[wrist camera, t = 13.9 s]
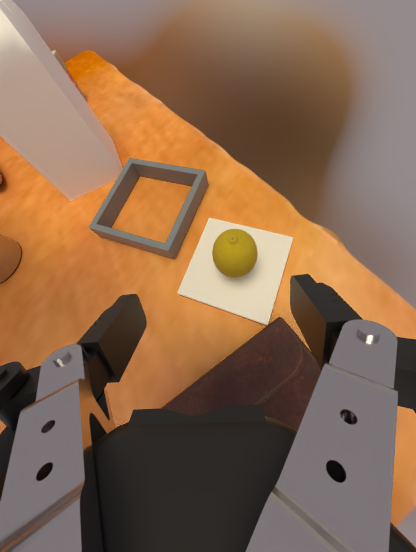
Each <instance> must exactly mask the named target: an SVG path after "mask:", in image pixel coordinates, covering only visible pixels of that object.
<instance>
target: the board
mask: <svg viewBox="0 0 416 552" xmlns="http://www.w3.org/2000/svg"><path fill="white" fill-rule="evenodd" d="M230 229H240V230H243V231H246V232H247V233H248V234H250V235H251V237H252V238H253V239H254V241H255V243H256V246H257V253H258V256H257V261H256V264H255V265H254V267H253V269H252V270H251V271H250V272H249V273H247V274H246V275H244V276H242V277H236V278H233V277H228V276H226V275H224V274H222V273H221V272H220V271H219V270H218V269H217V268H216V266H215V264H214V261H213V256H212V250H213V245H214V243H215V240H216V239H217V237H218V236H219V235H220V234H221V233H223V232H224V231H226V230H230ZM292 241H293V237H290V236H286V235H282V234H277V233H273V232H269V231H264V230H260V229H256V228H251V227H247V226H243V225H238V224H234V223H230V222H226V221H221V220H217V219H213V218H209V219H208V222H207V224H206V227H205V229H204V231H203V234H202V236H201V238H200V241H199V243H198V245H197V248H196V250H195V252H194V255H193V257H192V260H191V262H190V264H189V267H188V269H187V271H186V274H185V276H184V278H183V281H182V283H181V285H180V288H179V290H178V294H179V295H181V296H184V297H187V298H190V299H193V300H196V301H198V302H201V303H204V304H207V305H210V306H212V307H215V308H218V309H221V310H224V311H227V312H229V313H232V314H235V315H238V316H241V317H243V318H246V319H249V320H252V321H255V322H258V323H260V324H263V325H266V326H267V325H268V323H269V319H270V316H271V312H272V309H273V305H274V302H275V299H276V295H277V292H278V288H279V285H280V282H281V278H282V275H283V271H284V268H285V264H286V261H287V258H288V254H289V251H290V247H291V244H292Z"/></svg>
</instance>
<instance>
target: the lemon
mask: <svg viewBox="0 0 416 552" xmlns="http://www.w3.org/2000/svg"><path fill="white" fill-rule="evenodd" d="M212 256H213V261H214V264H215V266H216V268H217V269H218V270H219V271H220V272H221V273H222V274H224V275H226V276H228V277H233V278H236V277H242V276H244V275H246V274H247V273H249V272H250V271H251V270H252V269H253V267H254V265H255V264H256V261H257V256H258V253H257V246H256V243H255V241H254V239H253V238H252V237H251V235H250V234H248V233H247V232H246V231H243V230H240V229H230V230H226V231H224V232H223V233H221V234H220V235H219V236H218V237H217V239H216V240H215V243H214V245H213V250H212Z"/></svg>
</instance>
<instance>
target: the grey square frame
mask: <svg viewBox="0 0 416 552" xmlns="http://www.w3.org/2000/svg"><path fill="white" fill-rule="evenodd" d="M140 176H142V177H147V178H152V179H158V180H163V181H168V182H173V183H178V184H184V185H189V186H192V187H191V190H190V192H189V194H188V196H187V198H186V200H185V202H184V204H183V207H182V209H181V211H180V213H179V215H178V217H177V219H176V221H175V223H174V226H173V228H172V230H171V232H170V234H169V236H168V238H167V240H166V243H161V242H158V241H154V240H151V239H147V238H144V237H140V236H137V235H133V234H130V233H126V232H123V231H119V230H116V229H112V228H111V227H112V225H113V223H114V221H115V219H116V218H117V216H118V214H119V212H120V210H121V209H122V207H123V205H124V203H125V202H126V200H127V198H128V196H129V194H130V193H131V191H132V189H133V187H134V185H135V184H136V182H137V180H138V178H139V177H140ZM207 186H208V180H207V176H206V171H204V170H198V169H192V168H186V167H180V166H174V165H168V164H162V163H157V162H151V161H145V160H139V159H133V158H129V160H128V162H127V163H126V165H125V167H124V168H123V170H122V172H121V174H120V175H119V177H118V179H117V180H116V182H115V184H114V185H113V187H112V189H111V190H110V192H109V194H108V196H107V197H106V199H105V201H104V202H103V204H102V206H101V207H100V209H99V211H98V212H97V214H96V216H95V217H94V219H93V221H92V223H91V224H90V226H89V228H90V229H91V230H92V231H94V232H95V233H96V234H98V235H99V236H100V237H103V238H106V239H109V240H113V241H116V242H119V243H122V244H126V245H129V246H132V247H136V248H139V249H142V250H145V251H149V252H152V253H155V254H158V255H162V256H165V257H168V258H172V259H175V258H176V256H177V254H178V251H179V249H180V247H181V245H182V242H183V240H184V238H185V236H186V233H187V231H188V229H189V227H190V224H191V222H192V220H193V218H194V216H195V213H196V211H197V209H198V207H199V204H200V202H201V200H202V198H203V195H204V193H205V191H206V189H207Z"/></svg>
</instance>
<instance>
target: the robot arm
mask: <svg viewBox="0 0 416 552" xmlns="http://www.w3.org/2000/svg"><path fill="white" fill-rule="evenodd" d="M20 257H21V249H20V246H19V245H18V243H16V242H15V241H13V240H11V239H9V238H6V237H4V236H2V235H0V283H1V282H3V281H4V280H6V279H7V278H8V277H9V276H10V275H11V274H12V273H13V272H14V270H15V269H16V267H17V266H18V264H19V261H20ZM290 306H291V311H292V314H293V317H294V318H295V320H296V322H297V324H298V326H299V328H300V330H301V332H302V334H303V336H304V338H305V340H306V342H307V344H308V346H309V348H310V350H311V352H312V354H313V356H314V358H315V360H316V362H317V364H318V366H319V367H320V369H321V374H320V377H319V379H318V382H317V384H316V387H315V389H314V392H313V394H312V397H311V399H310V402H309V404H308V407H307V409H306V412H305V414H304V417H303V419H302V422H301V424H300V427H299V429H298V431H297V430H295V429H294V428H292V427H291V426H289V425H287V424H285V423H283V422H281V421H279V420H276V419H274V418H270V417H267V416H265V415H264V409H263V404H261V405H237V406H227V407H224V408H220V409H217V410H214V411H211V412H208V413H205V414H202V415H198V416H190V415H186V414H182V413H178V412H175V411H171V410H167V409H141V410H133V413H132V415H131V418H130V421H129V422H128V423H125V424H123V425H121V426H119V427H117V428H115V425H114V420H113V415H112V411H111V406H110V402H109V397H108V393H107V390H106V389H105V386H106V385H107V383H111V382H119V381H120V379H121V377H122V375H123V373H124V371H125V369H126V367H127V365H128V363H129V361H130V359H131V357H132V355H133V353H134V351H135V349H136V347H137V345H138V343H139V341H140V339H141V337H142V335H143V333H144V331H145V328H146V316H145V314H144V311H143V308H142V305H141V303H140V300H139V297H138V296H137V295H136V294H129V295H122V296H120V297H119V298H118V299H117V301H116V302H115V303H114V304H113V305H112V306H111V307H110V308H108V309H107V310H106V311H104V312H103V313H102V314H101V316H100V317H99V318H98V320H96V321H95V323H94V324H93V325H92V326H91V327H90V328H89V330H88V331H87V332H86V333H85V334H84V335H83V337H82V338H81V339H80V340H79V341H78V342H77V344H73V345H68V346H65V347H63V348H61V349H59V350H57V351H55V352H54V353H52V354H51V355H50V356H49V357H48V358H47V359H46V360H45V361H44V362H43V363H42V365H41V366H38V367H35V368H32V369H29V370H25V368H24V367H23V366H22V365H21V363H20V362H11V363H8V364H5V365H3V366H0V420H1V421H2V422H3V423H4V424H5V425H6V426H7V427H6V428H5V429H4V430H3V432H2V433H1V434H0V501H1V502H0V552H416V547H414V546H413V545H412V543H411V542H409V540H408V539H407V538H406V537H405V536H404V535H403V534H402V533H401V532H400V531H399V530H398V529H397V528H396V527H395V526H394V525H393V524H392V523H391V522H390V520H391V503H392V487H393V470H394V454H395V437H396V421H397V406H401V407H405V408H410V409H413V410H414V411H415V413H416V340H415V339H407V338H400V337H396V336H395V334H394V333H393V332H392V331H391V330H390V329H388V328H387V327H385V326H383V325H381V324H378V323H376V322H372V321H368V320H363V319H362V318H361V317H360V316H359V315H358V314H357V313H356V312H355V311H354V310H353V309H352V308H351V307H350V306H349V305H348V304H347V303H346V302H345V301H343V299H342V298H341V297H340V296H339V295H338V294H337V293H336V292H335V290H334V289H333V288H331V287H329V286H327V285H325V284H323V283H316V282H315V281H314V280H313V278H312V277H311V276H310V275H309V274H303V275H295V276H291V281H290Z"/></svg>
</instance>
